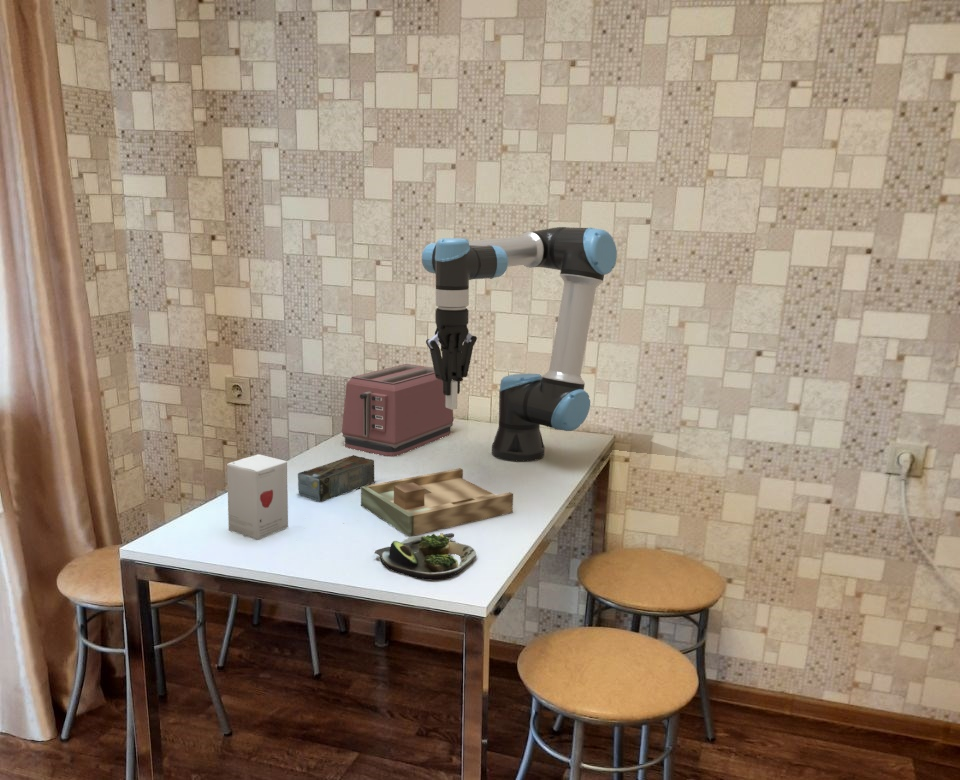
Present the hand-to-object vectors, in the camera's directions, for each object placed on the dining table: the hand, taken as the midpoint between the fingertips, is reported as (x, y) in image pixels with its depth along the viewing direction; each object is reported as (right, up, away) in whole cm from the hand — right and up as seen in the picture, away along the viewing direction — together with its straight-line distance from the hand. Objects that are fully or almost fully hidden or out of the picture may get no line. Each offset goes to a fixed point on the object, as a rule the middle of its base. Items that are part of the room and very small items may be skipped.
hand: (451, 407), depth 189 cm
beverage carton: (-28, -20, +9) cm, 36 cm away
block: (-9, -21, -7) cm, 25 cm away
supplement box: (-40, -26, -17) cm, 51 cm away
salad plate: (-4, -30, -30) cm, 43 cm away
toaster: (-18, -11, +52) cm, 56 cm away
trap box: (-4, -23, -3) cm, 24 cm away
